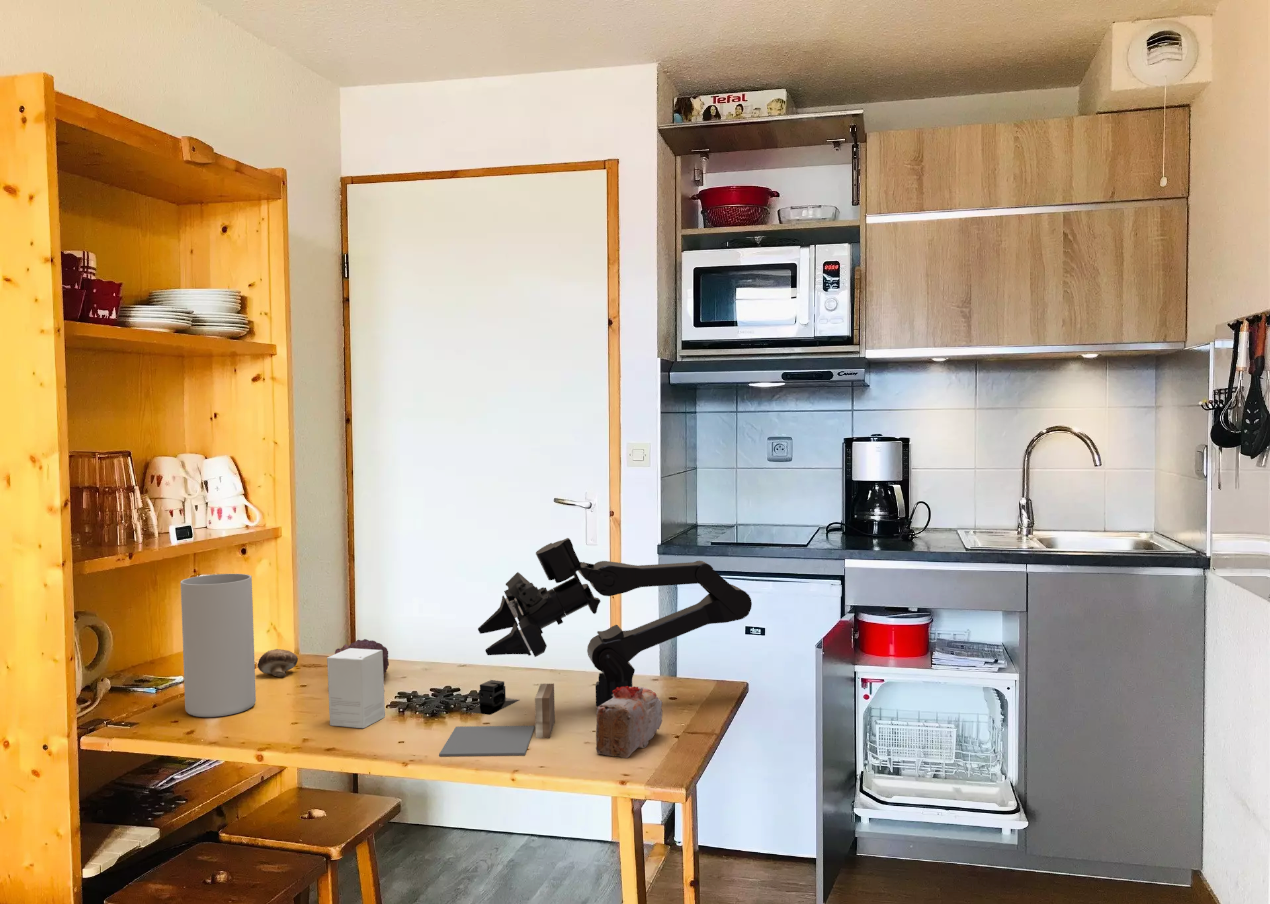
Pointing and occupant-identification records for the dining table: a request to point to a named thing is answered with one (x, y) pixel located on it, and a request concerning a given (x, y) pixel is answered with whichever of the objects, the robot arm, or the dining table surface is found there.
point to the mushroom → (277, 662)
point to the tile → (544, 710)
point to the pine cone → (368, 645)
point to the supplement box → (356, 687)
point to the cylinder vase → (218, 644)
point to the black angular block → (492, 698)
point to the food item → (627, 721)
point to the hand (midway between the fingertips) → (482, 641)
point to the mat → (488, 741)
